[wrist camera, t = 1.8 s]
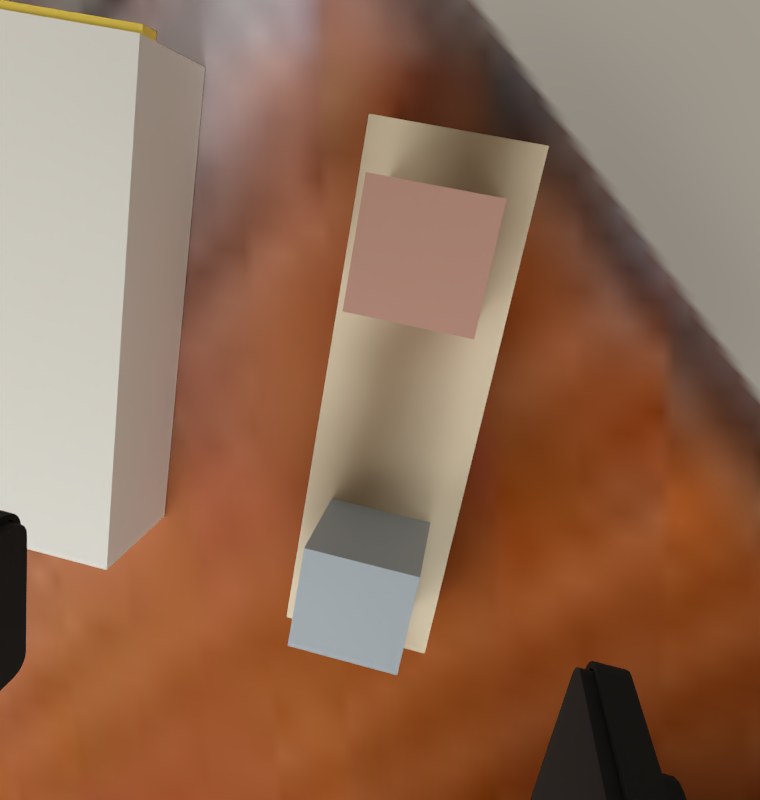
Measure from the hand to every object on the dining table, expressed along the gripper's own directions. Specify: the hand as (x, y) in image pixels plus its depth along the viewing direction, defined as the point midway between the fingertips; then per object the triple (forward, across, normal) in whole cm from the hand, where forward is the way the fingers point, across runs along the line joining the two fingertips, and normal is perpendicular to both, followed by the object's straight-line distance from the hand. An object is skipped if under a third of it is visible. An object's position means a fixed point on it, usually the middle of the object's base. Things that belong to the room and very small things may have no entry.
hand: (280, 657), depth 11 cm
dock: (+18, +17, -1) cm, 25 cm away
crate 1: (+14, 0, -6) cm, 15 cm away
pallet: (+18, 0, 0) cm, 18 cm away
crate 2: (+14, 0, +6) cm, 16 cm away
